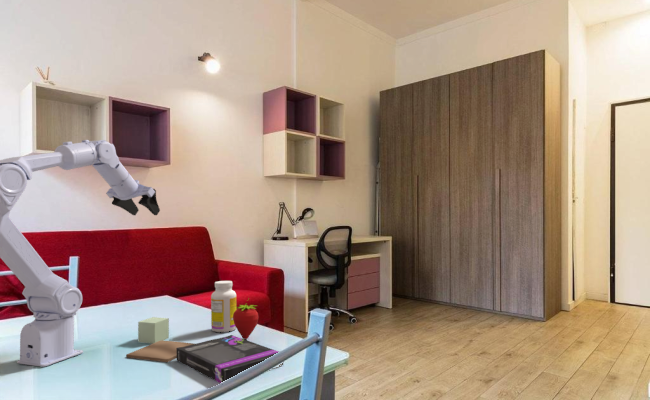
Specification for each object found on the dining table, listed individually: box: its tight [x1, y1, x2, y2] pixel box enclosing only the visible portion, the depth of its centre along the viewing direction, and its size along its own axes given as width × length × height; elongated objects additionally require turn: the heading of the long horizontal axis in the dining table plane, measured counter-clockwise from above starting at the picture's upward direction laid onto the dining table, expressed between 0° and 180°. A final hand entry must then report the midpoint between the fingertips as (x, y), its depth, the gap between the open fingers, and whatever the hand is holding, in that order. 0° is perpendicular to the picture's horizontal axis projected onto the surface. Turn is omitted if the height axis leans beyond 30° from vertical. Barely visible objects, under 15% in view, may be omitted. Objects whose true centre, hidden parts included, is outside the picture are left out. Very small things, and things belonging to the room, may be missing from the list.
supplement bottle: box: [210, 280, 237, 333], centre depth 113 cm, size 7×7×13 cm
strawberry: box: [233, 297, 259, 340], centre depth 104 cm, size 6×8×10 cm
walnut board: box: [126, 340, 195, 363], centre depth 95 cm, size 11×11×1 cm
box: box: [176, 334, 284, 384], centre depth 87 cm, size 14×4×20 cm
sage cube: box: [137, 316, 170, 344], centre depth 104 cm, size 5×5×5 cm
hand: (146, 212), depth 119 cm, fingers open, 7 cm apart
